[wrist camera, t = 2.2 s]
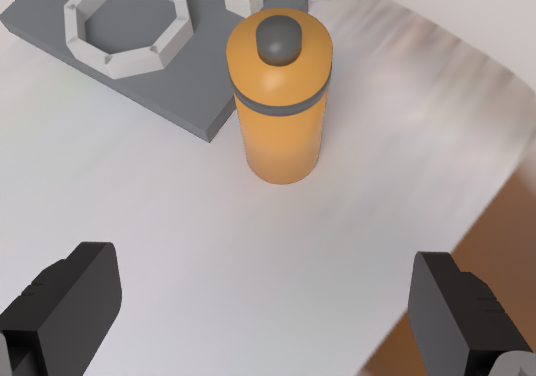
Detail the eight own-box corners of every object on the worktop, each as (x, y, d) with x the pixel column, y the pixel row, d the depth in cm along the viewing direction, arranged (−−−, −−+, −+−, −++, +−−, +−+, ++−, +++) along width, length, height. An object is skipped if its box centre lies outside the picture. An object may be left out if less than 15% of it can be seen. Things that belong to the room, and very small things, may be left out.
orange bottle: (230, 162, 29) (199, 49, 19) (270, 107, 30) (261, -25, 20) (295, 198, 28) (298, 98, 18) (333, 139, 29) (356, 16, 19)
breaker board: (9, 31, 34) (-20, -5, 31) (116, -72, 38) (100, -113, 35) (209, 142, 30) (199, 114, 26) (307, 12, 34) (309, -26, 30)
